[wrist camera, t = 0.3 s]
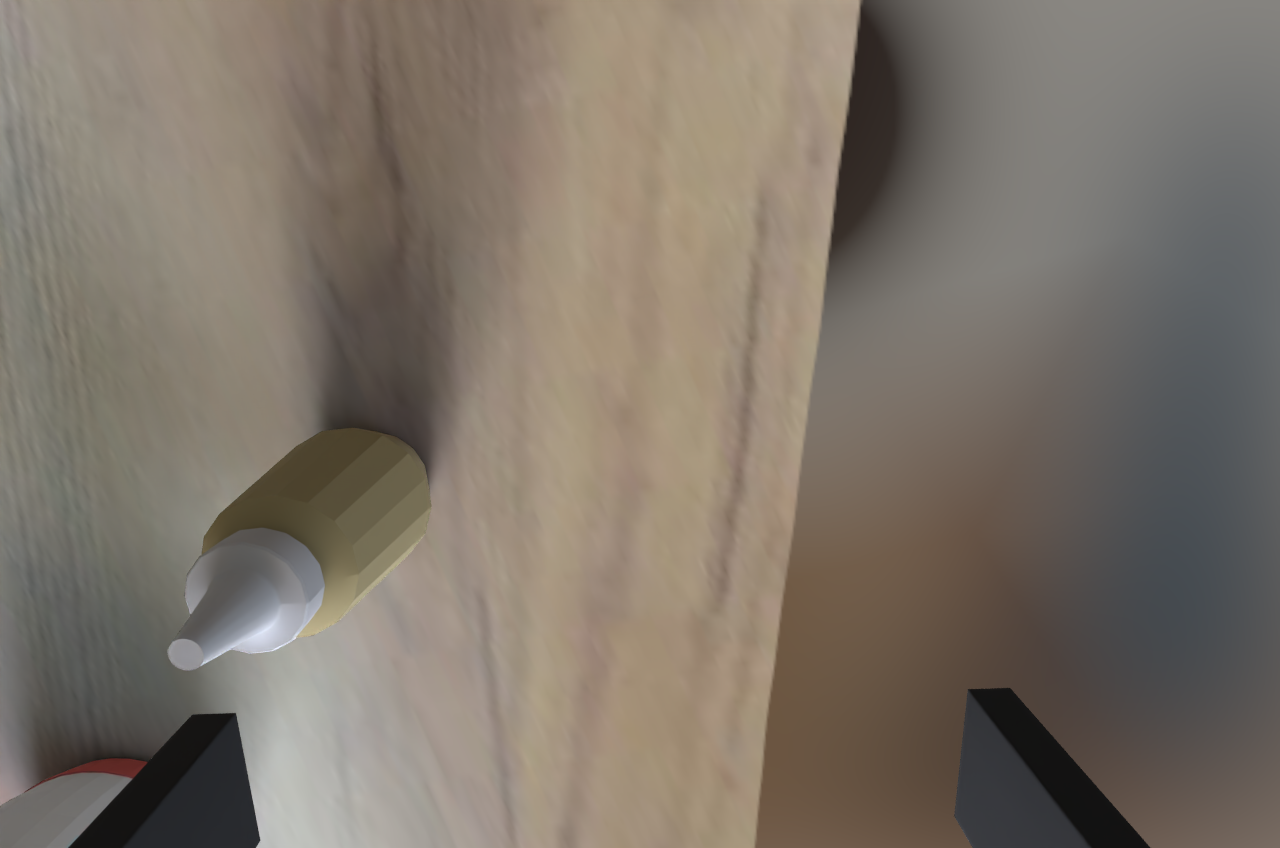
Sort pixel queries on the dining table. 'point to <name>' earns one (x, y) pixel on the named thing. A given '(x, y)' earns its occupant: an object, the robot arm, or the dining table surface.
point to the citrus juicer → (64, 804)
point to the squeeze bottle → (303, 544)
